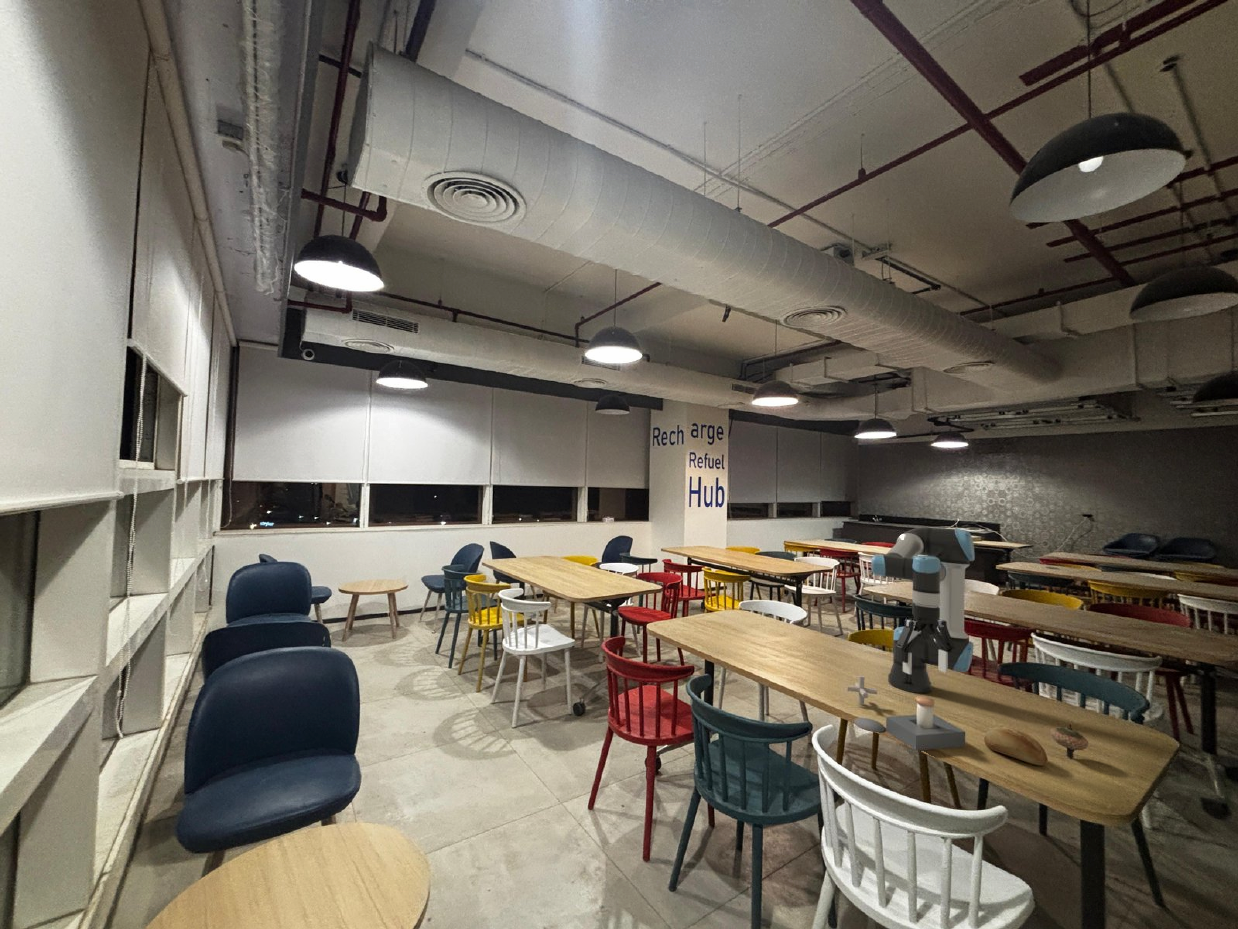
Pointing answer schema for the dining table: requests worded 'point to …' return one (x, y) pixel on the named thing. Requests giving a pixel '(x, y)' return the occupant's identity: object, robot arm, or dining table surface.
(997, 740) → the bread roll
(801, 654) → the dining table surface
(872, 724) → the grey round plate
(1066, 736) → the brown spinning top
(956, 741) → the grey flat block
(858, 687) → the pipe connector
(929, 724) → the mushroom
